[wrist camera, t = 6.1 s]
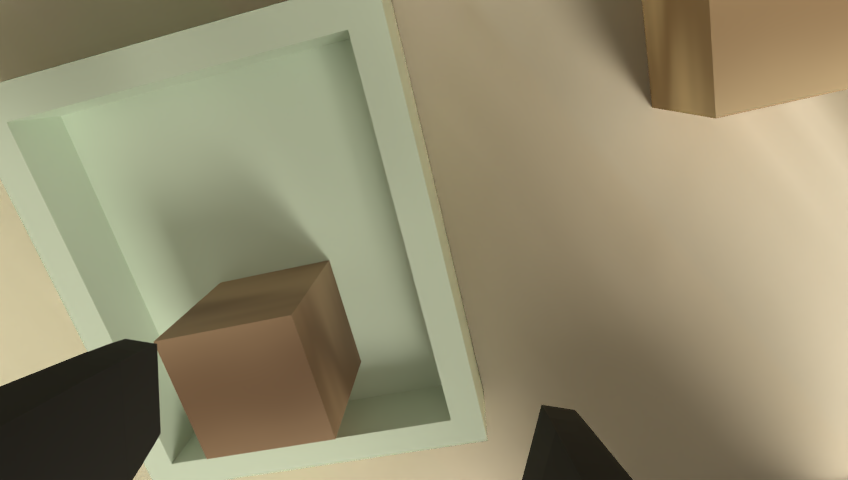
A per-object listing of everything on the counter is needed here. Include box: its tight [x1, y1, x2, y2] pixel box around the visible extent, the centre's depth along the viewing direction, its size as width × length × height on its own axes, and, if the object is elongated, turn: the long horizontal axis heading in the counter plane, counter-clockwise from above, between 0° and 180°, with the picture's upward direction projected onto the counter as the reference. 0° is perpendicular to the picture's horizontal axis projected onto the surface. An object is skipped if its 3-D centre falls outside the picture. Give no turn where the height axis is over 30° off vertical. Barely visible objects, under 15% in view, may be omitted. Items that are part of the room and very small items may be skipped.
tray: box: [0, 0, 488, 480], centre depth 16 cm, size 14×12×3 cm
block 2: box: [642, 0, 848, 118], centre depth 12 cm, size 4×4×4 cm
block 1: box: [154, 260, 361, 459], centre depth 16 cm, size 4×4×4 cm
